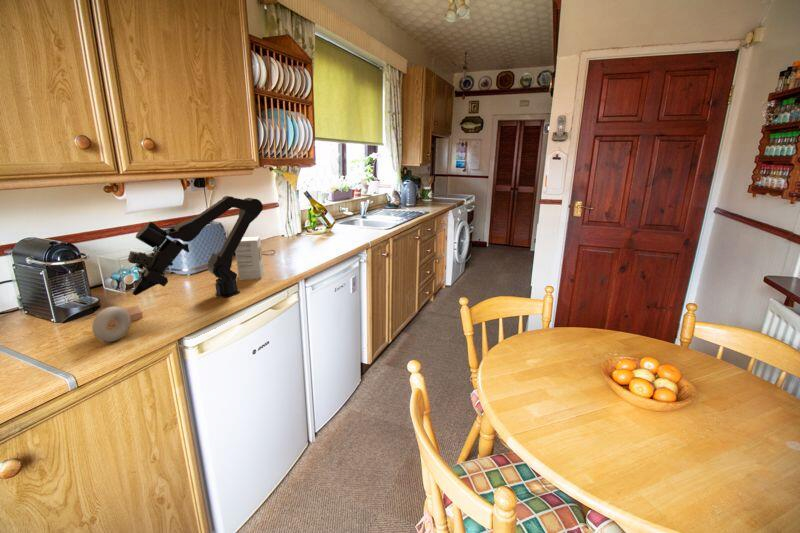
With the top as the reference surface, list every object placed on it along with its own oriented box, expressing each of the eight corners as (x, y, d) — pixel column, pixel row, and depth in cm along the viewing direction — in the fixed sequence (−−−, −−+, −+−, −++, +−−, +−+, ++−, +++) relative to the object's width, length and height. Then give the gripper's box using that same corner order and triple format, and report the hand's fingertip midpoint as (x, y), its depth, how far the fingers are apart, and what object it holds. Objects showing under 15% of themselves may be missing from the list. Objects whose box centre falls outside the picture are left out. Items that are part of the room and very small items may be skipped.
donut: (103, 349, 101) (95, 315, 99) (93, 347, 102) (84, 314, 100) (136, 333, 111) (129, 301, 108) (127, 332, 112) (120, 300, 109)
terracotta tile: (137, 305, 127) (104, 312, 121) (141, 312, 121) (107, 320, 115) (139, 312, 127) (106, 319, 121) (143, 319, 122) (109, 327, 116)
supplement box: (261, 278, 160) (257, 240, 155) (238, 280, 158) (233, 241, 154) (264, 272, 169) (260, 235, 164) (242, 274, 167) (237, 237, 163)
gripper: (136, 237, 127) (104, 275, 123) (148, 246, 114) (112, 289, 110) (167, 255, 134) (137, 292, 131) (181, 265, 121) (149, 306, 117)
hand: (133, 294), depth 122 cm, fingers closed
